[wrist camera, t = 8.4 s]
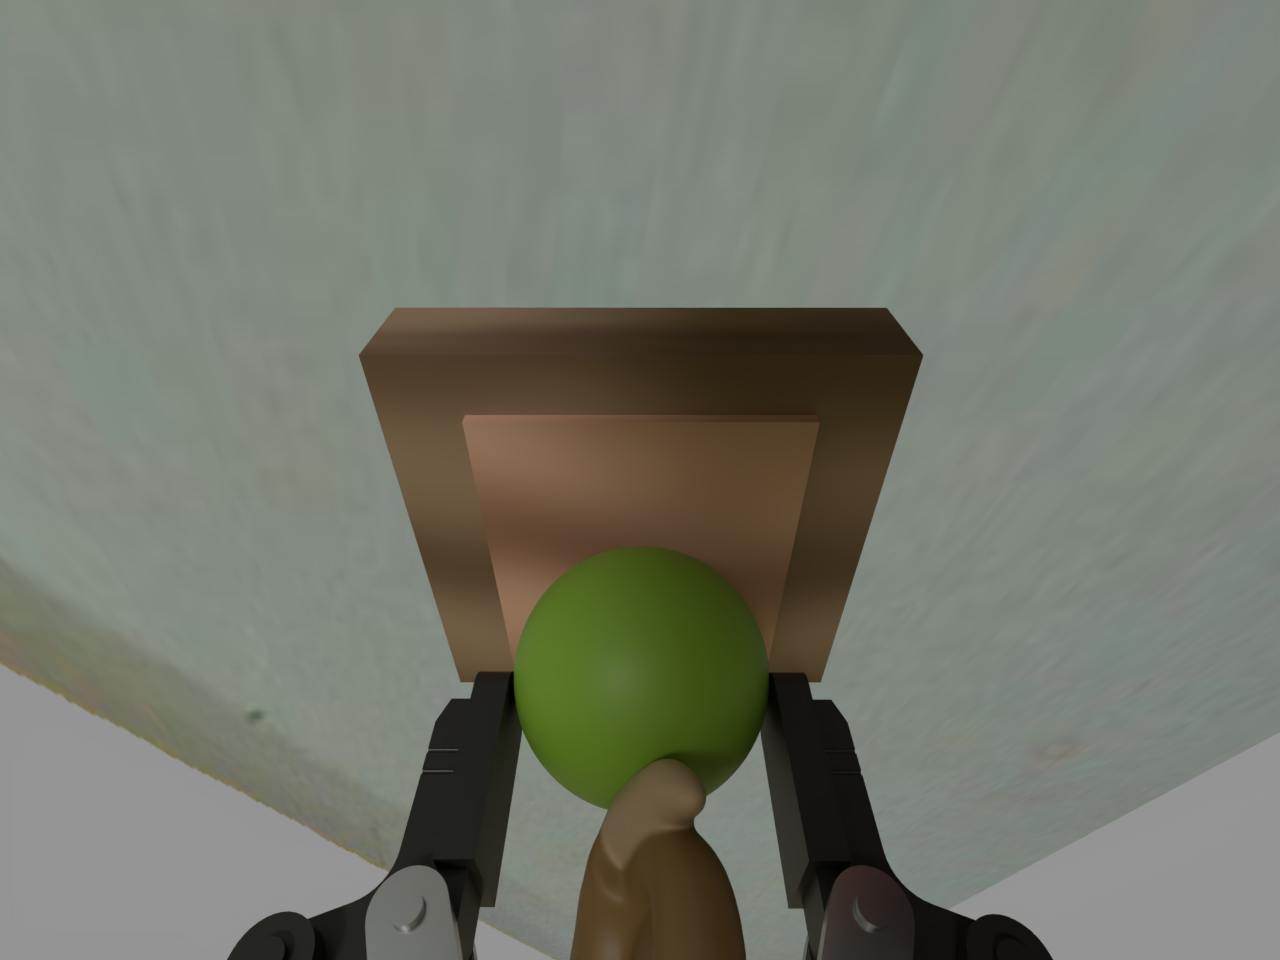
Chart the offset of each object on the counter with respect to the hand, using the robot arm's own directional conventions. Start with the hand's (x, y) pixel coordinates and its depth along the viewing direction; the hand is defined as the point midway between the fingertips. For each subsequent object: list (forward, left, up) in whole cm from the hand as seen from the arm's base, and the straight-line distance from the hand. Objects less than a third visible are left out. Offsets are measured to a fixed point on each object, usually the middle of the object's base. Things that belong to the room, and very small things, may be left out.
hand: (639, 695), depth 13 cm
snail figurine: (0, 0, -3) cm, 3 cm away
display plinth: (0, 0, -7) cm, 7 cm away
